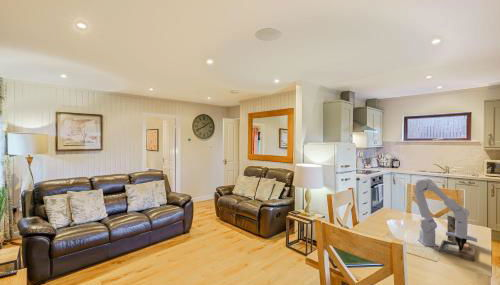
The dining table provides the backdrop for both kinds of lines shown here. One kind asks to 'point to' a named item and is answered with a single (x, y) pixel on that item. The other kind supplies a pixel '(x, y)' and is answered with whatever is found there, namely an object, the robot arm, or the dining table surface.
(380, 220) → the dining table surface
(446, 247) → the tray
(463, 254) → the walnut ledge
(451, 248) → the cream tile
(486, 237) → the dining table surface
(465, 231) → the robot arm
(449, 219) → the coffee box
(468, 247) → the terracotta tile
